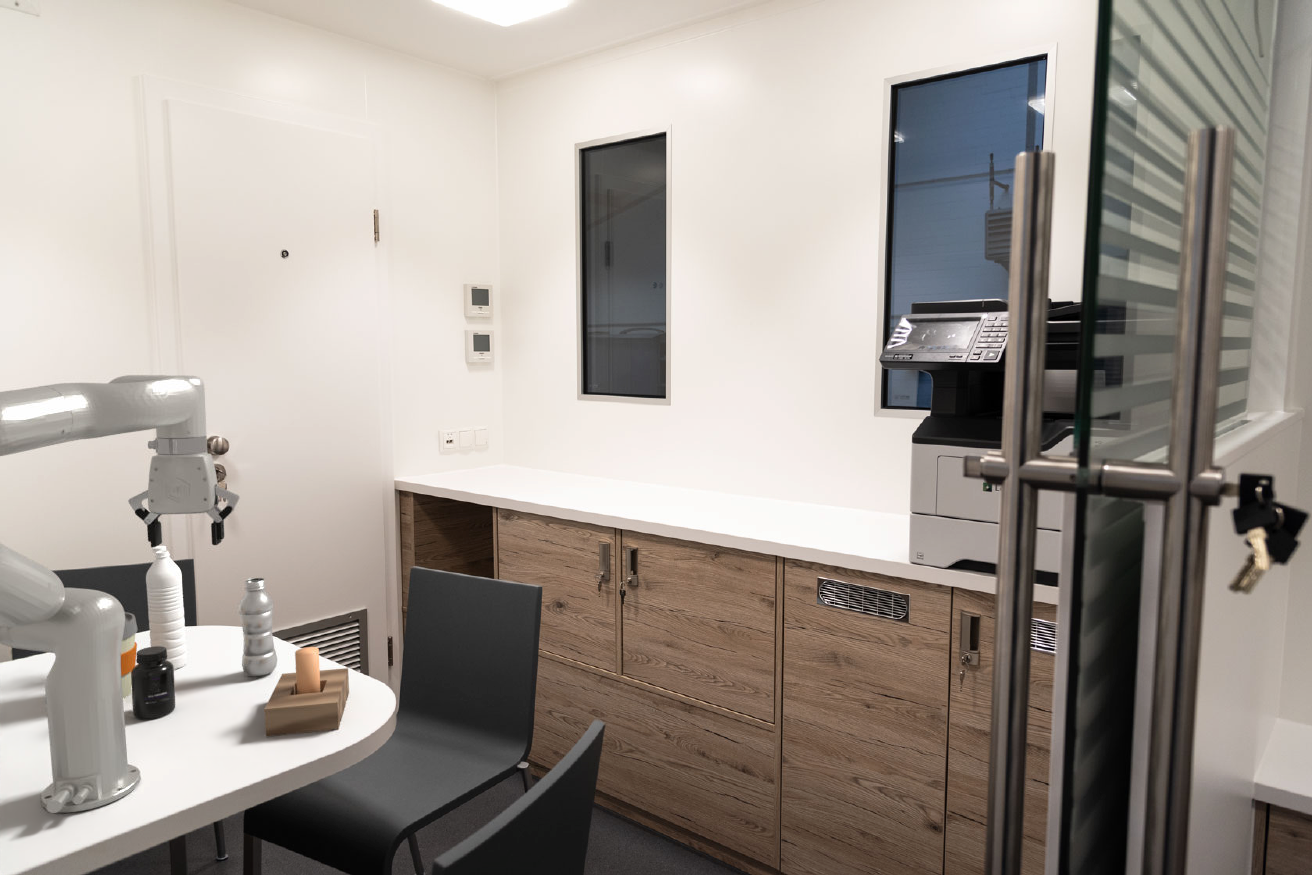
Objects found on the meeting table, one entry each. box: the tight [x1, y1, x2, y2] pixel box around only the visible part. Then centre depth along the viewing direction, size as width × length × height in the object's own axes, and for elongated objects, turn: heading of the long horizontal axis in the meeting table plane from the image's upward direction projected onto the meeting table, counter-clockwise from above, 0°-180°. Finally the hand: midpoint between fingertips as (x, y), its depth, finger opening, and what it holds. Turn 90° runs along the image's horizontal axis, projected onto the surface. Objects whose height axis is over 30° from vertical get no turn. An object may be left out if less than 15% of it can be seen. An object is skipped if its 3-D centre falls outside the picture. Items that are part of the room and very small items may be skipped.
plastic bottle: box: [238, 577, 278, 677], centre depth 172 cm, size 6×7×20 cm
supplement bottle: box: [131, 646, 176, 721], centre depth 154 cm, size 7×7×12 cm
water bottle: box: [145, 545, 188, 671], centre depth 176 cm, size 9×6×25 cm
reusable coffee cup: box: [121, 611, 138, 699], centre depth 161 cm, size 13×13×15 cm
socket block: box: [263, 667, 350, 737], centre depth 154 cm, size 16×12×5 cm
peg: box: [294, 646, 321, 694], centre depth 154 cm, size 4×4×12 cm
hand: (186, 544), depth 145 cm, fingers open, 9 cm apart
